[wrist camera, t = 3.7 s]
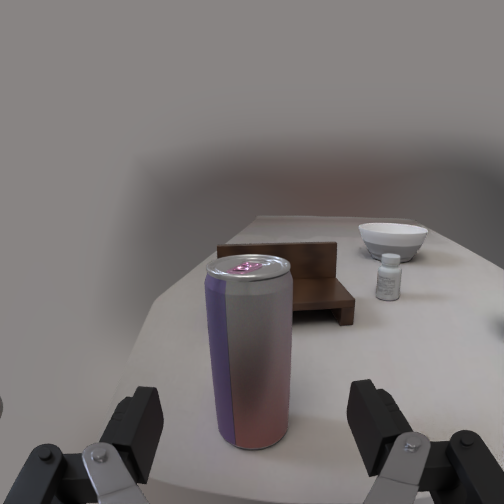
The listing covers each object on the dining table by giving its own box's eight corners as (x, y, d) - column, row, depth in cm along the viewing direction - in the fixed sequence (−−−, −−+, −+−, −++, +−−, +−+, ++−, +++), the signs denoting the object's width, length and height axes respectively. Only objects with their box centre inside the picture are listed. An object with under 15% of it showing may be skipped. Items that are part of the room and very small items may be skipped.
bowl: (344, 252, 89) (345, 224, 87) (397, 248, 93) (399, 222, 92) (383, 270, 71) (386, 235, 69) (439, 263, 75) (442, 232, 73)
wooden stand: (214, 331, 44) (209, 262, 42) (220, 300, 56) (217, 244, 54) (353, 324, 45) (358, 258, 42) (332, 296, 56) (335, 241, 54)
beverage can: (205, 438, 24) (185, 269, 20) (240, 402, 29) (233, 250, 26) (269, 462, 21) (269, 282, 18) (297, 418, 26) (305, 257, 23)
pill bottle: (386, 291, 57) (390, 251, 56) (403, 297, 54) (407, 256, 52) (370, 295, 56) (374, 254, 54) (388, 303, 52) (392, 259, 50)
